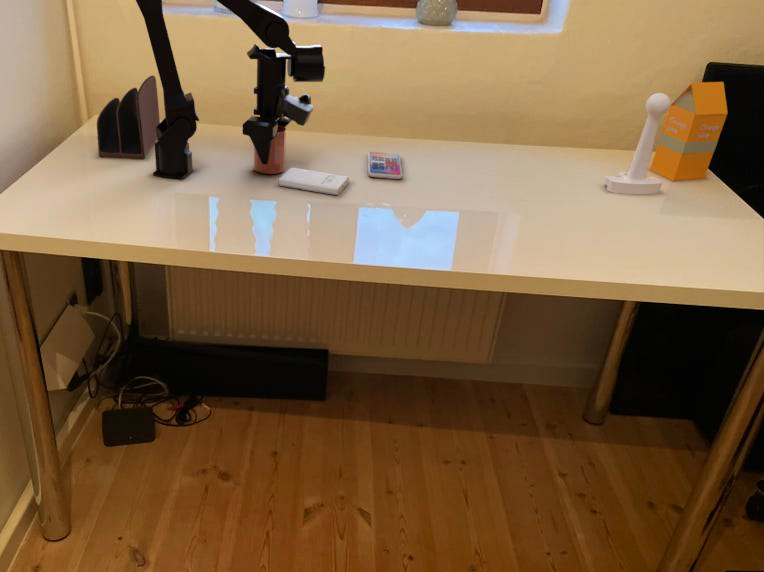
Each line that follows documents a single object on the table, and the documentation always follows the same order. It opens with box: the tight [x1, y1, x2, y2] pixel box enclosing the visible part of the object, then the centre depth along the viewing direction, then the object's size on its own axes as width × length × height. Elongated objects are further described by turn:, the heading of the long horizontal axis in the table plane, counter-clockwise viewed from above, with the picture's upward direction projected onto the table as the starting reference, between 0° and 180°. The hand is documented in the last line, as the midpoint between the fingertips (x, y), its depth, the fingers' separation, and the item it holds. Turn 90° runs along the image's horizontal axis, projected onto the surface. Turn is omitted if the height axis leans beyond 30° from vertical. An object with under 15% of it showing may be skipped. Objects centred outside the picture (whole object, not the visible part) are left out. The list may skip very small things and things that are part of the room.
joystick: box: [603, 92, 671, 195], centre depth 152 cm, size 11×8×20 cm
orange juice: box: [649, 81, 729, 182], centre depth 161 cm, size 8×9×20 cm
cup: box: [253, 125, 287, 175], centre depth 154 cm, size 6×6×8 cm
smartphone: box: [367, 151, 403, 180], centre depth 161 cm, size 7×1×15 cm
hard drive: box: [278, 167, 350, 196], centre depth 150 cm, size 2×8×12 cm
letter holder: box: [96, 75, 161, 160], centre depth 163 cm, size 10×20×14 cm, turn 179°
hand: (269, 159), depth 155 cm, fingers closed on cup, 6 cm apart
